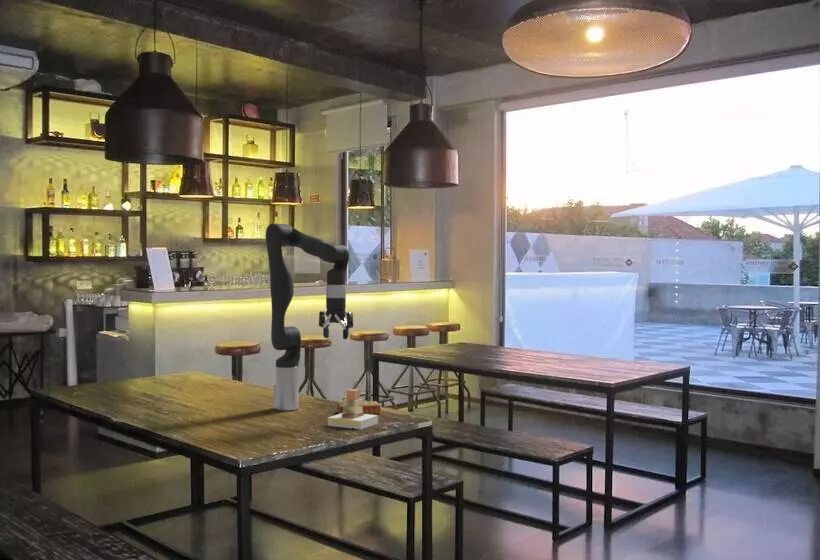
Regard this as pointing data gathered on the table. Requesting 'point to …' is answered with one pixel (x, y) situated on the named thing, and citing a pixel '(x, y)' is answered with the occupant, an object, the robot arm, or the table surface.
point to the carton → (364, 407)
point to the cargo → (353, 394)
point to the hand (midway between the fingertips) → (335, 338)
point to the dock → (353, 421)
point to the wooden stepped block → (352, 408)
